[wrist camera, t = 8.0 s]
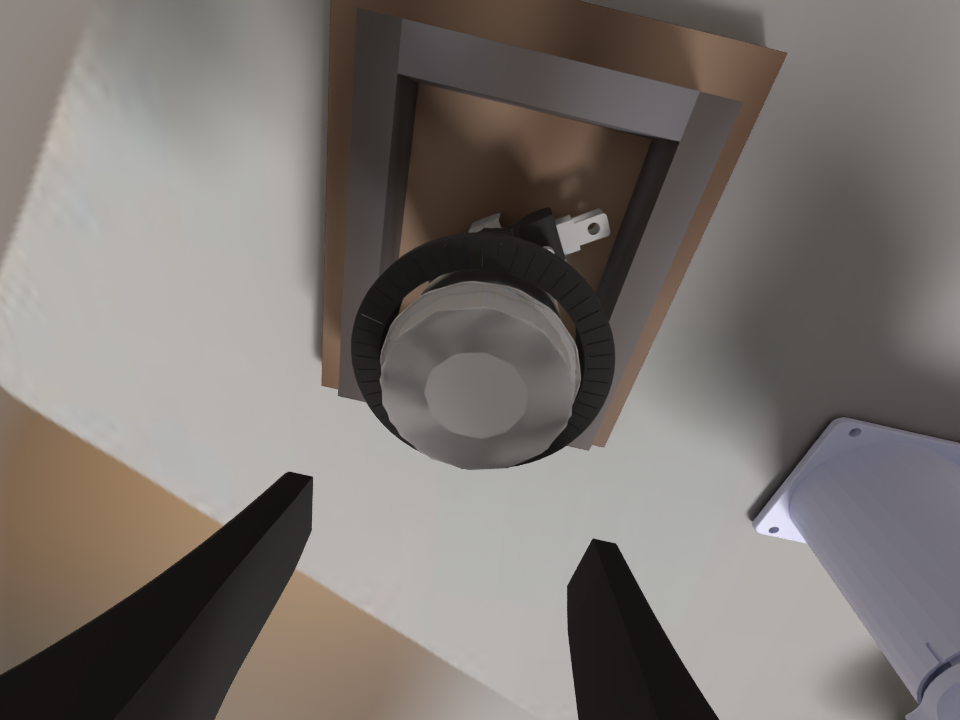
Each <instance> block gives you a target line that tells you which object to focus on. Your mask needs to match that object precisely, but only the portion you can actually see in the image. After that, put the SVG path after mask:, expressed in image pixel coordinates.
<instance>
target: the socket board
mask: <svg viewBox="0 0 960 720" xmlns="http://www.w3.org/2000/svg"><path fill="white" fill-rule="evenodd" d="M786 55H787V53H786V52H782V51H778V50H774V49H770V48H766V47H762V46H758V45H754V44H750V43H746V42H742V41H738V40H734V39H730V38H726V37H722V36H718V35H714V34H710V33H706V32H702V31H698V30H694V29H690V28H686V27H682V26H678V25H674V24H670V23H666V22H662V21H658V20H654V19H650V18H646V17H642V16H638V15H634V14H630V13H626V12H622V11H618V10H614V9H610V8H606V7H602V6H598V5H594V4H590V3H586V2H582V1H578V0H331V9H330V51H329V93H328V135H327V177H326V220H325V262H324V304H323V346H322V386H325V387H330V388H334V389H338V396H340V397H345V398H350V399H354V400H359V401H363V402H366V401H365V399H364V397H363V395H362V393H361V391H360V389H359V386H358V384H357V381H356V378H355V374H354V370H353V365H352V357H351V337H352V330H353V325H354V321H355V318H356V314H357V312H358V309H359V307H360V305H361V302H362V301H363V299H364V297H365V295H366V294H367V292H368V290H369V289H370V288H371V286H372V285H373V284H374V282H375V281H376V280H377V279H378V278H379V277H380V276H381V275H382V274H383V272H384V271H385V270H386V269H387V268H388V267H389V266H390V265H391V264H393V263H394V262H395V261H396V260H398V259H399V258H400V257H401V256H403V255H404V254H406V253H408V252H409V251H411V250H412V249H414V248H416V247H418V246H420V245H422V244H424V243H427V242H429V241H432V240H435V239H438V238H441V237H445V236H450V235H454V234H461V233H469V230H470V227H471V225H472V223H474V222H475V221H477V220H480V219H483V218H485V217H488V216H491V215H493V214H496V213H500V220H499V222H500V225H501V228H507V227H510V226H512V225H514V224H515V223H517V222H518V221H520V220H521V219H523V218H524V217H526V216H527V215H528V214H530V213H532V212H535V211H538V210H540V209H543V208H548V207H550V208H551V211H552V213H553V216H554V220H555V219H558V218H560V217H563V216H566V215H569V214H570V217H571V218H573V217H576V216H578V215H581V214H584V213H587V212H589V211H592V210H595V209H598V208H599V209H601V210H602V213H605V214H606V215H607V219H608V223H609V228H610V232H611V233H610V234H609V236H607V237H604V238H601V239H598V240H595V241H592V242H589V243H586V244H583V245H580V249H581V250H579V251H576V252H573V253H570V254H567V255H565V258H566V262H567V263H568V264H570V265H571V266H572V267H573V268H574V269H575V270H576V271H577V272H578V273H579V274H580V275H581V276H582V277H583V278H584V279H585V280H586V281H587V283H588V284H589V285H590V287H591V288H592V289H593V291H594V292H595V294H596V296H597V297H598V299H599V301H600V303H601V305H602V307H603V309H604V311H605V314H606V316H607V318H608V320H609V324H610V327H611V330H612V333H613V339H614V344H615V371H614V376H613V381H612V385H611V388H610V391H609V394H608V396H607V399H606V401H605V403H604V405H603V407H602V408H601V410H600V412H599V413H598V415H597V416H596V418H595V419H594V420H593V422H592V423H591V424H590V425H589V427H588V428H587V429H586V430H585V431H584V432H583V433H582V434H581V435H579V436H578V437H577V438H576V439H575V440H574V441H572V442H571V443H569V444H568V445H567V446H570V447H574V448H579V449H584V450H588V451H589V449H590V447H591V445H595V446H600V447H605V445H606V442H607V440H608V438H609V436H610V434H611V432H612V429H613V427H614V425H615V423H616V421H617V419H618V417H619V414H620V412H621V410H622V408H623V406H624V404H625V402H626V399H627V397H628V395H629V393H630V391H631V389H632V386H633V384H634V382H635V380H636V378H637V376H638V374H639V371H640V369H641V367H642V365H643V363H644V361H645V358H646V356H647V354H648V352H649V350H650V348H651V346H652V343H653V341H654V339H655V337H656V335H657V333H658V331H659V328H660V326H661V324H662V322H663V320H664V318H665V315H666V313H667V311H668V309H669V307H670V305H671V303H672V300H673V298H674V296H675V294H676V292H677V290H678V287H679V285H680V283H681V281H682V279H683V277H684V275H685V272H686V270H687V268H688V266H689V264H690V262H691V260H692V257H693V255H694V253H695V251H696V249H697V247H698V244H699V242H700V240H701V238H702V236H703V234H704V232H705V229H706V227H707V225H708V223H709V221H710V219H711V216H712V214H713V212H714V210H715V208H716V206H717V204H718V201H719V199H720V197H721V195H722V193H723V191H724V189H725V186H726V184H727V182H728V180H729V178H730V176H731V173H732V171H733V169H734V167H735V165H736V163H737V161H738V158H739V156H740V154H741V152H742V150H743V148H744V146H745V143H746V141H747V139H748V137H749V135H750V133H751V130H752V128H753V126H754V124H755V122H756V120H757V118H758V115H759V113H760V111H761V109H762V107H763V105H764V102H765V100H766V98H767V96H768V94H769V92H770V90H771V87H772V85H773V83H774V81H775V79H776V77H777V75H778V72H779V70H780V68H781V66H782V64H783V62H784V59H785V57H786ZM594 226H595V223H591V224H590V225H589V226H588V229H591V228H593V227H594ZM597 233H598V232H597ZM594 234H596V233H594ZM592 235H593V234H592ZM428 284H429V282H428V281H427V282H425V283H423V284H421V285H420V286H418V287H417V288H415V289H414V290H413V291H411V292H410V293H409V294H408V295H407V296H406V297H405V298H404V299H403V301H402V304H401V307H400V311H399V314H400V313H401V312H403V311H404V310H405V309H406V308H407V307H408V306H409V305H410V304H412V303H413V302H414V301H415V300H416V299H417V298H418V297H420V296H421V294H422V292H423V291H424V289H425V287H426V286H427V285H428ZM557 304H558V309H559V314H560V318H561V322H562V323H563V325H564V326H565V328H566V329H567V330H568V332H569V333H570V335H571V336H572V338H573V339H574V341H575V338H576V326H575V324H574V322H573V321H572V319H571V317H570V316H569V314H568V313H567V312H566V310H565V309H564V308H563V307H562V306H561V305H560V303H559V302H557Z"/></svg>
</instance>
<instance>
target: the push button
mask: <svg viewBox="0 0 960 720" xmlns="http://www.w3.org/2000/svg"><path fill="white" fill-rule="evenodd" d="M499 220H500V213H496V214H493V215H491V216H488V217H485V218H483V219H480V220H477V221H475V222H474V223H472V225H471V227H470V230H469V233H461V234H454V235H450V236H445V237H441V238H438V239H435V240H432V241H429V242H427V243H424V244H422V245H420V246H418V247H416V248H414V249H412V250H411V251H409V252H408V253H406V254H404V255H403V256H401V257H400V258H399V259H398V260H396V261H395V262H394V263H393V264H391V265H390V266H389V267H388V268H387V269H386V270H385V271H384V272H383V274H382V275H381V276H380V277H379V278H378V279H377V280H376V281H375V282H374V284H373V285H372V286H371V288H370V289H369V290H368V292H367V294H366V295H365V297H364V299H363V301H362V302H361V305H360V307H359V309H358V312H357V314H356V318H355V321H354V325H353V330H352V337H351V357H352V365H353V370H354V374H355V378H356V381H357V384H358V386H359V389H360V391H361V393H362V395H363V397H364V399H365V401H366V402H367V404H368V406H369V407H370V409H371V410H372V412H373V413H374V414H375V416H376V417H377V418H378V419H379V420H380V421H381V423H382V424H383V425H384V426H385V427H386V428H387V429H388V430H389V431H390V432H391V433H393V434H394V435H395V436H396V437H398V438H399V439H400V440H401V441H403V442H404V443H406V444H407V445H409V446H410V447H412V448H414V449H416V450H417V451H419V452H420V453H423V454H425V455H427V456H428V457H430V458H431V459H434V460H437V461H440V462H444V463H447V464H450V465H453V466H456V467H458V468H461V469H467V470H478V469H499V468H509V467H513V466H519V465H523V464H527V463H531V462H534V461H537V460H539V459H542V458H544V457H547V456H549V455H551V454H553V453H555V452H557V451H559V450H560V449H562V448H564V447H565V446H567V445H568V444H569V443H571V442H572V441H574V440H575V439H576V438H577V437H578V436H579V435H581V434H582V433H583V432H584V431H585V430H586V429H587V428H588V427H589V425H590V424H591V423H592V422H593V420H594V419H595V418H596V416H597V415H598V413H599V412H600V410H601V408H602V407H603V405H604V403H605V401H606V399H607V396H608V394H609V391H610V388H611V385H612V381H613V376H614V371H615V344H614V339H613V333H612V330H611V327H610V324H609V320H608V318H607V316H606V314H605V311H604V309H603V307H602V305H601V303H600V301H599V299H598V297H597V296H596V294H595V292H594V291H593V289H592V288H591V287H590V285H589V284H588V283H587V281H586V280H585V279H584V278H583V277H582V276H581V275H580V274H579V273H578V272H577V271H576V270H575V269H574V268H573V267H572V266H571V265H570V264H568V263H567V262H566V258H565V255H567V254H570V253H573V252H576V251H579V250H581V249H580V245H583V244H586V243H589V242H592V241H595V240H598V239H601V238H604V237H607V236H609V234H610V233H611V232H610V228H609V223H608V219H607V215H606V214H605V213H602V210H601V209H599V208H598V209H595V210H592V211H589V212H587V213H584V214H581V215H578V216H576V217H573V218H571V217H570V214H569V215H566V216H563V217H560V218H558V219H555V220H554V216H553V213H552V211H551V208H550V207H548V208H543V209H540V210H538V211H535V212H532V213H530V214H528V215H527V216H526V217H524V218H523V219H521V220H520V221H518V222H517V223H515V224H514V225H512V226H510V227H507V228H501V225H500V222H499ZM591 223H595V226H594V227H593V228H591V229H588V226H589V225H590V224H591ZM597 232H598V233H597ZM594 233H596V234H594ZM592 234H593V235H592ZM427 281H428V282H429V284H428V285H427V286H426V287H425V289H424V291H423V292H422V294H421V296H420V297H418V298H417V299H416V300H415V301H414V302H413V303H412V304H410V305H409V306H408V307H407V308H406V309H405V310H404V311H403V312H401V313H400V314H399V311H400V307H401V304H402V301H403V299H404V298H405V297H406V296H407V295H408V294H409V293H410V292H411V291H413V290H414V289H415V288H417V287H418V286H420V285H421V284H423V283H425V282H427ZM557 302H559V303H560V305H561V306H562V307H563V308H564V309H565V310H566V312H567V313H568V314H569V316H570V317H571V319H572V321H573V322H574V324H575V326H576V338H575V341H574V339H573V338H572V336H571V335H570V333H569V332H568V330H567V329H566V328H565V326H564V325H563V323H562V322H561V318H560V314H559V309H558V304H557Z"/></svg>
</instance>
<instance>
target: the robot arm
mask: <svg viewBox="0 0 960 720" xmlns="http://www.w3.org/2000/svg"><path fill="white" fill-rule="evenodd" d="M852 429H854V430H852ZM851 430H852V431H851ZM312 496H313V477H311V476H307V475H302V474H298V473H293V472H287V473H285V474H284V475H283V476H282V477H280V478H279V479H278V480H277V481H276V482H275V483H274V484H273V485H271V486H270V487H269V488H268V489H267V490H266V491H265V492H264V493H262V494H261V495H260V496H259V497H258V498H257V499H256V500H254V501H253V502H252V503H251V504H250V505H248V506H247V507H246V508H245V509H244V510H243V511H241V512H240V513H239V514H238V515H237V516H235V517H234V518H233V519H232V520H230V521H229V522H228V523H227V524H226V525H224V526H223V527H222V528H221V529H219V530H218V531H217V532H216V533H214V534H213V535H212V536H211V537H210V538H208V539H207V540H206V541H204V542H203V543H202V544H201V545H199V546H198V547H197V548H195V549H194V550H193V551H191V552H190V553H188V554H187V555H186V556H184V557H183V558H182V559H181V560H179V561H178V562H176V563H175V564H174V565H172V566H171V567H170V568H168V569H167V570H166V571H164V572H163V573H162V574H160V575H159V576H158V577H156V578H155V579H153V580H152V581H150V582H149V583H147V584H146V585H145V586H143V587H142V588H140V589H139V590H137V591H136V592H134V593H133V594H131V595H130V596H129V597H127V598H125V599H124V600H123V601H121V602H119V603H118V604H117V605H115V606H114V607H112V608H110V609H109V610H107V611H106V612H104V613H103V614H101V615H100V616H98V617H96V618H95V619H93V620H92V621H90V622H89V623H87V624H85V625H84V626H82V627H81V628H79V629H77V630H76V631H74V632H73V633H71V634H69V635H67V636H66V637H64V638H63V639H61V640H60V641H58V642H56V643H55V644H53V645H51V646H50V647H48V648H46V649H45V650H43V651H41V652H40V653H38V654H36V655H35V656H33V657H31V658H29V659H28V660H26V661H24V662H23V663H21V664H19V665H17V666H16V667H14V668H12V669H10V670H8V671H7V672H5V673H3V674H1V675H0V720H214V719H215V717H216V715H217V713H218V711H219V709H220V707H221V704H222V702H223V700H224V698H225V696H226V694H227V692H228V689H229V688H230V686H231V684H232V682H233V680H234V678H235V676H236V674H237V672H238V670H239V668H240V667H241V665H242V663H243V661H244V659H245V658H246V656H247V654H248V653H249V651H250V649H251V647H252V645H253V644H254V642H255V640H256V638H257V637H258V635H259V633H260V631H261V629H262V628H263V626H264V624H265V622H266V620H267V619H268V617H269V615H270V613H271V612H272V610H273V608H274V606H275V605H276V603H277V601H278V599H279V597H280V596H281V594H282V592H283V590H284V588H285V586H286V585H287V583H288V581H289V579H290V577H291V576H292V574H293V572H294V570H295V568H296V566H297V563H298V561H299V559H300V556H301V554H302V552H303V550H304V547H305V545H306V542H307V540H308V538H309V535H310V533H311V531H312ZM752 526H753V528H754V529H755V531H756V532H758V533H760V534H765V535H770V536H774V537H779V538H784V539H788V540H793V541H798V542H802V543H807V544H808V545H809V547H810V548H811V550H812V551H813V553H814V554H815V556H816V557H817V558H818V560H819V561H820V563H821V564H822V566H823V567H824V569H825V570H826V571H827V573H828V574H829V576H830V577H831V579H832V580H833V582H834V583H835V584H836V586H837V587H838V589H839V590H840V592H841V593H842V595H843V596H844V597H845V599H846V600H847V602H848V603H849V605H850V606H851V608H852V609H853V610H854V612H855V613H856V615H857V616H858V618H859V619H860V621H861V622H862V623H863V625H864V626H865V628H866V629H867V631H868V632H869V634H870V635H871V636H872V638H873V639H874V641H875V642H876V644H877V645H878V647H879V648H880V649H881V651H882V652H883V654H884V655H885V657H886V658H887V660H888V661H889V662H890V664H891V665H892V667H893V668H894V670H895V671H896V672H897V674H898V675H899V677H900V678H901V680H902V681H903V683H904V684H905V685H906V687H907V688H908V690H909V691H910V693H911V694H912V696H913V697H914V698H915V700H916V701H917V703H918V704H919V706H918V708H916V709H915V710H914V711H912V712H911V713H909V714H907V715H906V716H905V718H906V720H960V443H958V442H953V441H949V440H944V439H940V438H935V437H931V436H927V435H922V434H918V433H913V432H909V431H904V430H900V429H895V428H891V427H886V426H882V425H877V424H873V423H869V422H864V421H860V420H855V419H851V418H845V417H842V418H837V419H835V420H833V421H832V422H831V423H830V424H829V425H828V427H827V428H826V429H825V431H824V432H823V433H822V434H821V436H820V437H819V438H818V439H817V441H816V442H815V443H814V445H813V446H812V447H811V448H810V450H809V451H808V452H807V453H806V455H805V456H804V457H803V459H802V460H801V461H800V462H799V464H798V465H797V466H796V467H795V469H794V470H793V471H792V473H791V474H790V475H789V476H788V478H787V479H786V480H785V481H784V483H783V484H782V485H781V487H780V488H779V489H778V490H777V492H776V493H775V494H774V495H773V497H772V498H771V499H770V501H769V502H768V503H767V504H766V506H765V507H764V508H763V509H762V511H761V512H760V513H759V514H758V516H757V517H756V518H755V520H754V521H753V523H752ZM567 617H568V636H569V645H570V654H571V662H572V671H573V679H574V687H575V695H576V703H577V711H578V719H579V720H719V719H718V717H717V716H716V714H715V713H714V711H713V710H712V708H711V707H710V705H709V704H708V702H707V701H706V699H705V697H704V696H703V694H702V693H701V691H700V690H699V688H698V687H697V685H696V683H695V682H694V680H693V679H692V677H691V675H690V674H689V672H688V671H687V669H686V667H685V666H684V664H683V663H682V661H681V659H680V658H679V656H678V654H677V653H676V651H675V649H674V648H673V646H672V644H671V642H670V641H669V639H668V637H667V635H666V634H665V632H664V630H663V629H662V627H661V625H660V623H659V622H658V620H657V618H656V616H655V615H654V613H653V611H652V609H651V607H650V606H649V604H648V602H647V600H646V598H645V596H644V595H643V593H642V591H641V589H640V587H639V585H638V584H637V582H636V580H635V578H634V576H633V574H632V572H631V570H630V569H629V567H628V565H627V563H626V561H625V559H624V557H623V555H622V553H621V552H620V550H619V548H618V546H617V545H616V544H615V543H611V542H606V541H602V540H597V539H592V541H591V543H590V545H589V547H588V548H587V550H586V552H585V554H584V556H583V558H582V560H581V561H580V563H579V565H578V567H577V569H576V571H575V573H574V574H573V576H572V578H571V580H570V582H569V584H568V586H567Z"/></svg>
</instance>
